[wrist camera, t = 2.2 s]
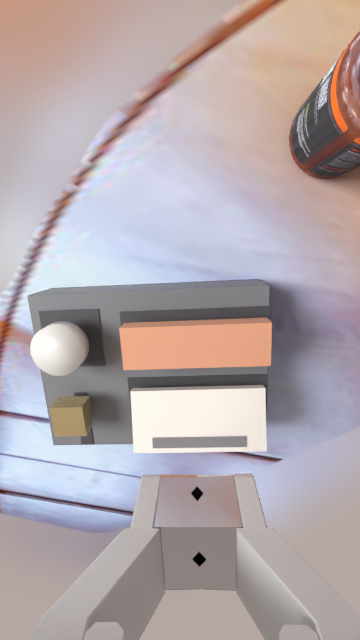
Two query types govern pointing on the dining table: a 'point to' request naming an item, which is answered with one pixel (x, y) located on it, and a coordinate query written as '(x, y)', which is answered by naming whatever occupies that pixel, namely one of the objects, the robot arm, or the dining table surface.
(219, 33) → the dining table surface
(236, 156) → the dining table surface
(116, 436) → the panel
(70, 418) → the slider knob
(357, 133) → the supplement bottle
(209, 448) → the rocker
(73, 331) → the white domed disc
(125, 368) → the terracotta button
